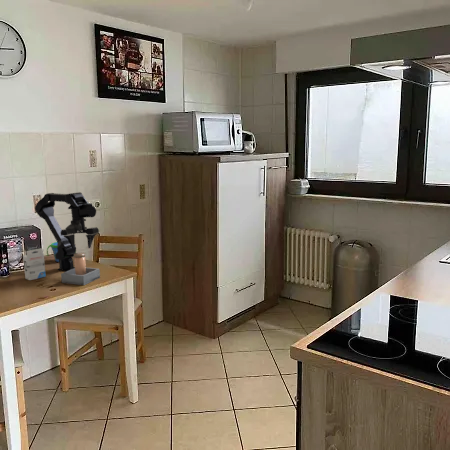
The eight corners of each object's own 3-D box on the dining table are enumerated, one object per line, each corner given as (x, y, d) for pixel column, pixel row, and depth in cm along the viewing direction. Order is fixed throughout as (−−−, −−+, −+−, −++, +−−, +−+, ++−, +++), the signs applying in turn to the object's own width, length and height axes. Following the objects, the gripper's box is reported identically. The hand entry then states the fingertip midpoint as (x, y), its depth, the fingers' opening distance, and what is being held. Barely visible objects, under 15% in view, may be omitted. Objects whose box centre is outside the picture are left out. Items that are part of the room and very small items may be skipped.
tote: (61, 282, 215) (61, 273, 215) (78, 275, 227) (78, 266, 226) (84, 285, 211) (83, 276, 210) (100, 277, 223) (99, 268, 222)
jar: (73, 279, 217) (72, 255, 214) (77, 276, 222) (76, 252, 220) (84, 279, 216) (82, 255, 214) (88, 276, 221) (86, 252, 219)
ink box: (41, 274, 229) (39, 246, 226) (46, 276, 226) (43, 247, 223) (24, 278, 223) (21, 249, 220) (28, 280, 220) (26, 251, 217)
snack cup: (46, 264, 249) (44, 246, 248) (49, 259, 259) (47, 241, 258) (75, 262, 253) (74, 244, 251) (77, 257, 263) (76, 240, 261)
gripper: (52, 220, 222) (55, 251, 224) (85, 218, 217) (88, 250, 219) (65, 217, 233) (69, 247, 235) (97, 216, 228) (101, 246, 230)
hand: (81, 248), depth 229 cm, fingers open, 9 cm apart
